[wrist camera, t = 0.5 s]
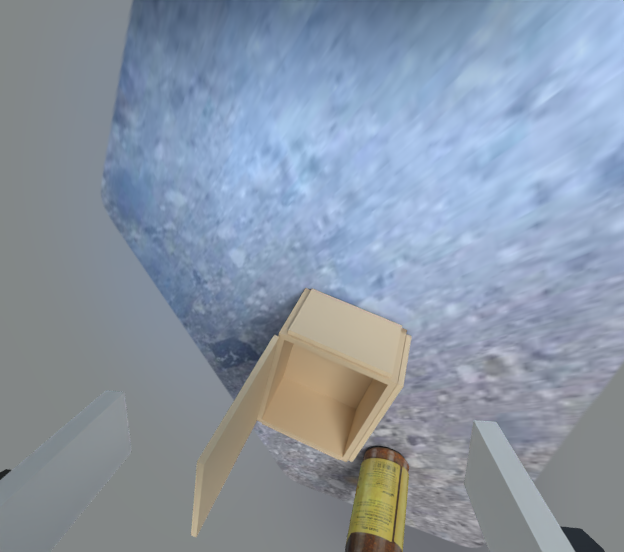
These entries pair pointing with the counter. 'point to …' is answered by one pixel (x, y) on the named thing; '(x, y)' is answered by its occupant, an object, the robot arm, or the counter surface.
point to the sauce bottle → (379, 503)
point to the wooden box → (333, 374)
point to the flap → (230, 438)
